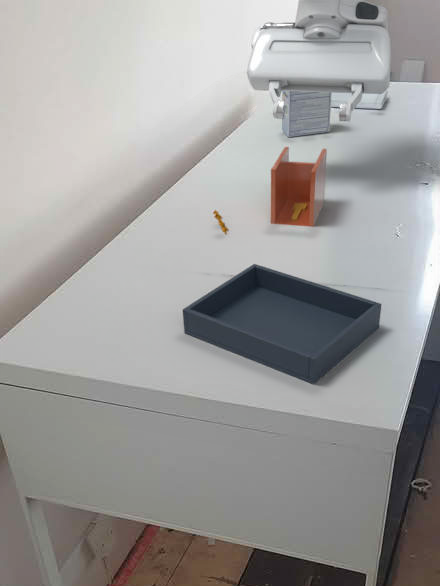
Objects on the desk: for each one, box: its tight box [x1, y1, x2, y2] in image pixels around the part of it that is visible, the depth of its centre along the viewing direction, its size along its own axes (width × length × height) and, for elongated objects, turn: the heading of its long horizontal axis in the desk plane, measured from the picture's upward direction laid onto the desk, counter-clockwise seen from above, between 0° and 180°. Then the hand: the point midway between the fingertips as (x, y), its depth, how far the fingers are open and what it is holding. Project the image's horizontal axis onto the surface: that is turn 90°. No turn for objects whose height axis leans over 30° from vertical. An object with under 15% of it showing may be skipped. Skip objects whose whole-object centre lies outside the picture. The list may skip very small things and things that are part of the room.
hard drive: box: [331, 90, 389, 110], centre depth 143 cm, size 2×8×12 cm
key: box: [291, 203, 307, 220], centre depth 102 cm, size 5×2×1 cm, turn 164°
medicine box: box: [281, 91, 332, 138], centre depth 128 cm, size 8×4×9 cm, turn 102°
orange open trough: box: [270, 146, 328, 228], centre depth 100 cm, size 9×6×8 cm, turn 164°
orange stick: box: [212, 209, 229, 235], centre depth 101 cm, size 8×1×1 cm, turn 11°
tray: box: [182, 263, 382, 385], centre depth 79 cm, size 17×13×3 cm
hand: (310, 118), depth 101 cm, fingers open, 8 cm apart
